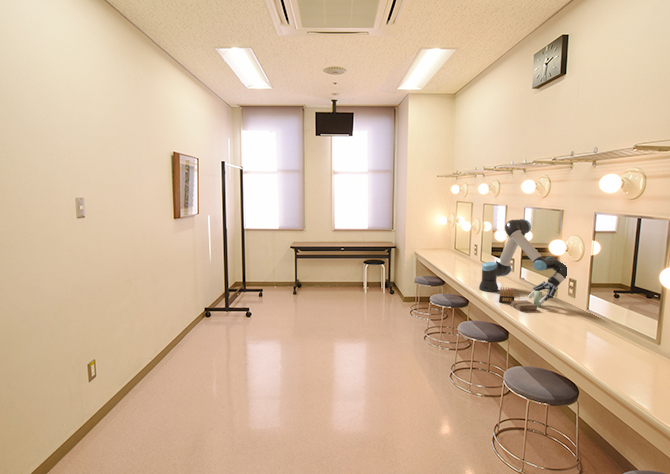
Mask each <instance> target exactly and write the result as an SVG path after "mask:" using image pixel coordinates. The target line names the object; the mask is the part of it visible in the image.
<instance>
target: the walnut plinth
mask: <svg viewBox="0 0 670 474" xmlns="http://www.w3.org/2000/svg"><path fill="white" fill-rule="evenodd" d="M510 307H512V308H514V309H515V310H517V311H519V312H537V311H538V310H537V309H538V307H537V305H535V304H534V302H531V301H529V300H514V301H511V303H510Z"/></svg>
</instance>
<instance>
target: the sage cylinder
mask: <svg viewBox="0 0 670 474" xmlns="http://www.w3.org/2000/svg"><path fill="white" fill-rule="evenodd" d="M542 298H543V291H542V290H540V291H534V296H533V304H535V305H537V308H542V304H541V303H540V302H539V301H540V300H541V299H542Z"/></svg>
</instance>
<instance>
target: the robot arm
mask: <svg viewBox="0 0 670 474" xmlns="http://www.w3.org/2000/svg"><path fill="white" fill-rule="evenodd" d="M531 228H532V225H531V223H530V221H528V220H527V219H525V218H524V219H523V218H522V219H521V218H520V219H511V220H508V221H507V222H506V223H505V226H504V231H505V234H507V236H508V239H507V241H506V242H505V243H506V244H505V246H504V248H503V250H502V252H501V254H500V257H499V258H497V259H496V261H495V262H494V261H487V262H484V263H482V267H481V281H480V283H479V287H478V289H479V290H480V291H481V292H482V291H483V292H488V293H495V292H496V293H497V292H498V291H499V286H498V283H497V278H499V277H506V276H508V275H510V273H511V271H512V266H511V264H512V263H511V260H512V259H513V257H514V254H515V252H516V250H517V248H518V247H519V248H520V249H521V250H522V251H523V253H524V254H525V255H526V256H527V257H528V259H530V261H531V262H532V263H533V268H534V269H535V270H536V271H539V272H540V271H542V272H543V271H546V270H547V271H549V270H553V271H555V272H554V273H553V274H552V275H551V276H550V277H548V278H547V281H545V280H544V281H542V282H541V283H540V284H537V285H535V286H534V287H532V289H533V290H532V291H531V292H530V293H529V294H528V295H527V297H528V298H529V299H532V298H534V291H543V290H547V293H546V294H545V296H544V297H543V296H542V299H541V300H540V301H539V302H540V303H541V305H543V304H544V303H545V302H547V301H548V300H549V299H553V298H554V296H555V294H556V292H557V290H558V289H559V288H558V286H559V285H561V284H562V282H563V281H565V280H566V279H567V278H566V276H567V267H566V265H564V264H563V262H562V261H560V260H558V259H556V258H555V257H553V256H550V255H549V256H547V257H545V258H544V257H543V256H542V255H541V253H540V252H539V251H538V250H537V249H536V248H535V247H534V246H533V245H532V244H531V242H530V241H529V240H528V239H527V237H525V236H526V234H528V233H530V231H531ZM561 262H562V263H561Z"/></svg>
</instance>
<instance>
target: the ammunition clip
mask: <svg viewBox="0 0 670 474" xmlns="http://www.w3.org/2000/svg"><path fill="white" fill-rule="evenodd" d="M511 301H515V287H508V288H507V287H503V288H502V286H501V287H500V289H499V298H498V303H500V304H511Z"/></svg>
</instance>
